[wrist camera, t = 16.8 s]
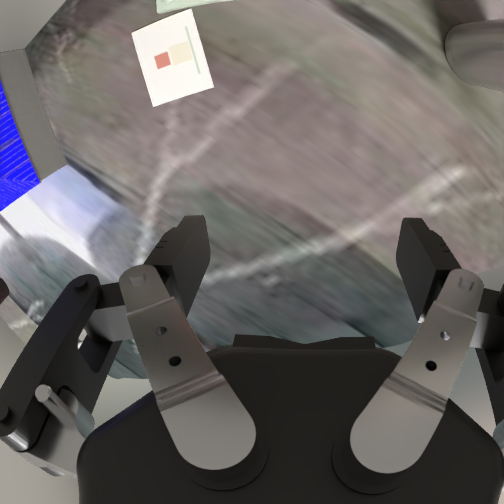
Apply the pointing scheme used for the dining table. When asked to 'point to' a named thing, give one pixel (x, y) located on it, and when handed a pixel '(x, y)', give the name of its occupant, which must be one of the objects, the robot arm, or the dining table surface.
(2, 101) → the house
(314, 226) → the dining table surface
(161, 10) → the tower base
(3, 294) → the bottle
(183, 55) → the page
